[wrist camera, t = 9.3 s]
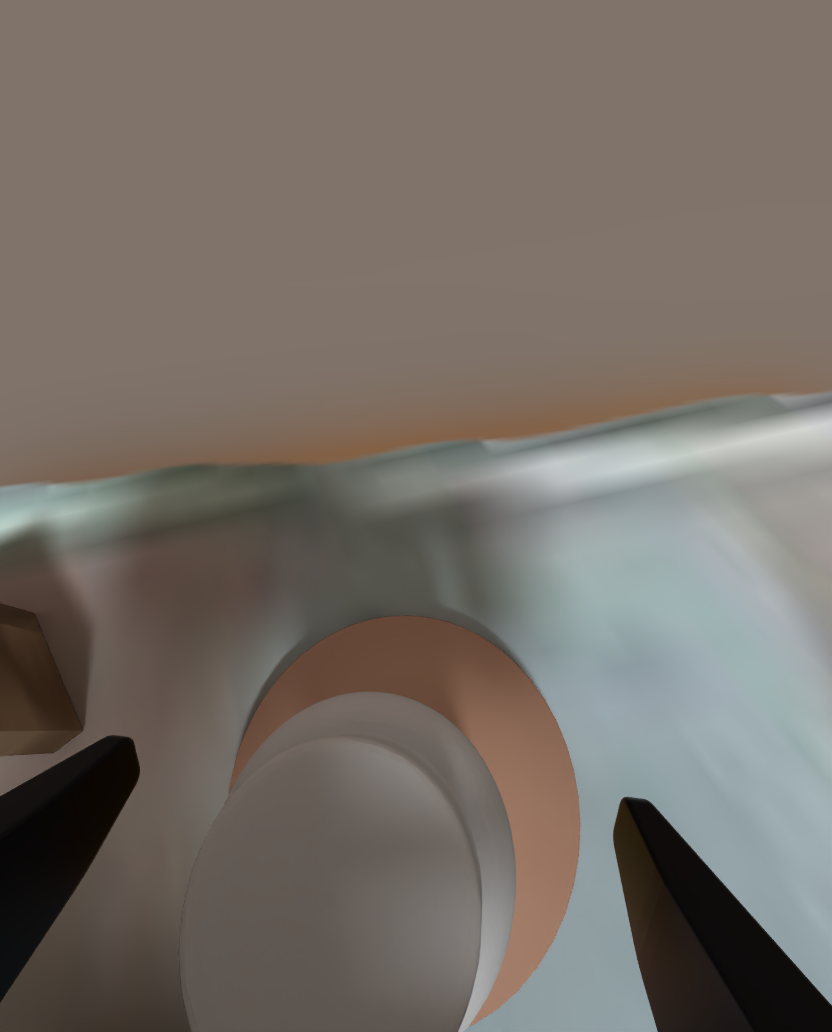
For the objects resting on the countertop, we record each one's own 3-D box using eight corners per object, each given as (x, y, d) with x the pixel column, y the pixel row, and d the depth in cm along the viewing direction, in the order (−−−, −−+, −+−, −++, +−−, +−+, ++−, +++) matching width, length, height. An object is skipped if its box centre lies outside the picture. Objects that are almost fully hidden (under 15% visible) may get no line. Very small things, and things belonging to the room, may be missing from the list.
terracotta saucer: (650, 877, 14) (661, 885, 13) (310, 1130, 12) (302, 1155, 11) (459, 570, 19) (459, 564, 18) (197, 713, 17) (186, 713, 16)
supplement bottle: (389, 952, 13) (255, 1498, 4) (287, 788, 15) (39, 880, 6) (517, 805, 14) (646, 942, 5) (408, 674, 16) (361, 605, 7)
